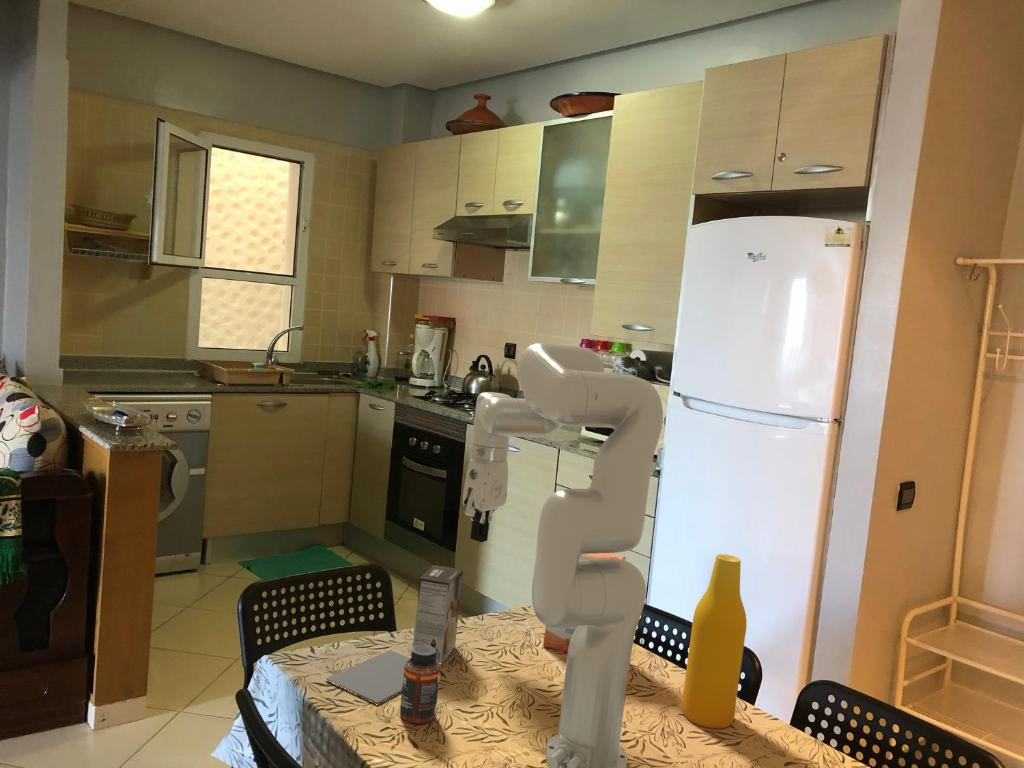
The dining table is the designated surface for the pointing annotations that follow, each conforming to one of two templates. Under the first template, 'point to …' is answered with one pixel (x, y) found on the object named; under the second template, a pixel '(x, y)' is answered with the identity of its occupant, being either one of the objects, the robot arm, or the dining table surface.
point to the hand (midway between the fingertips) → (478, 539)
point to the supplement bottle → (420, 685)
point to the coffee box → (438, 610)
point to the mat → (374, 677)
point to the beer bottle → (716, 648)
